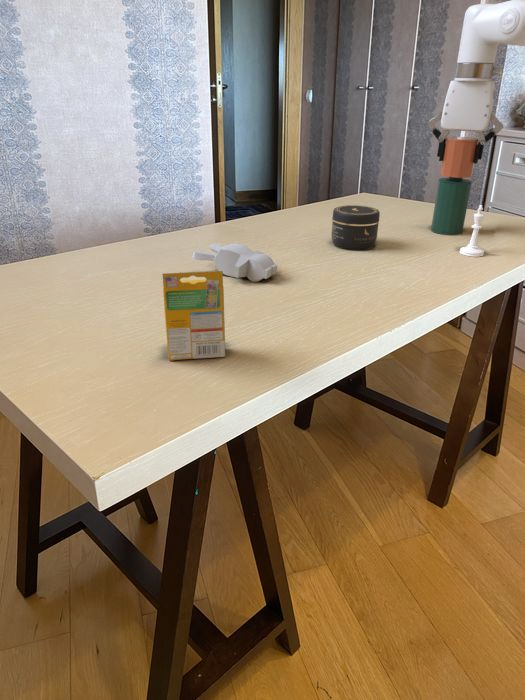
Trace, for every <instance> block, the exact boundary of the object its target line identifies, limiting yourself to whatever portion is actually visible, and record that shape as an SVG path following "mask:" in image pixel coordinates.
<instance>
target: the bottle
mask: <svg viewBox="0 0 525 700" xmlns="http://www.w3.org/2000/svg"><path fill="white" fill-rule="evenodd" d="M472 183H473V180H471V179H470V178H454V177H440V178H438V182H437V189H436V194H435V195H436V197H435V202H434V209H433V212H432V213H433V214H432V220H431V226H430V227H431V228H430V231H431V232H433V233H434V234H438V235H443V236H458V235H459V236H460V235H462V234H463V231H464V227H465V220H466V215H467V210H468V204H469V199H470V194H471V188H472V185H473V184H472Z"/></svg>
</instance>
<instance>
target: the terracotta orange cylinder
mask: <svg viewBox="0 0 525 700" xmlns="http://www.w3.org/2000/svg"><path fill="white" fill-rule="evenodd" d="M478 142H479V139H478V137H471V136H447V137H446V142H445V149H444V155H443V161H441V167H440V176H443V177H445V178H447V177H454V178H464V179H469V178H472V176H473V171H474V166H475V164H474V163H473V162H474V157H475V151H476V146H477V144H478Z"/></svg>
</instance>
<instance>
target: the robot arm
mask: <svg viewBox="0 0 525 700" xmlns="http://www.w3.org/2000/svg"><path fill="white" fill-rule="evenodd" d="M499 44H501V45H508V46H519V47H525V0H507V1H503V2H498V3H478V4H473V5H470V6H468V7H467V9H466V11H465V14H464V17H463V23H462V29H461V36H460V42H459V48H458V55H457V61H456V66H455V73H454V78H453V79H454V80H450V82H449V85H448V89H447V91H446V96H445V100H444V104H443V107H442V108H443V109H442V111H440V112H439V113H438V114H436V115H435V116H434V117H433V118H431V119H430V120H429V121H427V126H428V128H429V129H430V131H431V133H432V135H433V136H434V137H435V139H436V140H437V141H438V147H437V154H436V157H438V158H439V159H438V162H442V161H443V155H444V149H445V142H446V138H447V137H448V136H449V134H450V132H451V131H456V132H458V131H459V132H476V134H477V135H476V136H477V139H478V144H477V146H476V151H475V157H474V162H473V163H474V165H477V164H478V162H479V161H480V160H482V159H483V152H484V147H485V144H487V143H488V142H489V141H490V140H491V139H493V138H494V137H495V136H496V135H497V134H498V133H499V132H500V131H501V130H503V129H504V127H505V126H504V123H502V122H501V121H500V120H499V118H498V117H497V116H496V115H495V114H494V113H493V108H494V103H495V102H494V101H495V94H496V93H495V92H496V81H494V80H492V79H493V77H494V76H500V74H501V70H502V67H498V66H496V65H495V63H496V58H497V52H498V47H499ZM438 122H440V128H441V129H443V131H442V132H441V130H440V129H439V128H438V127H437V123H438ZM491 124H492V125H493V126H494V128H493V129H492V130H490V131H489V132H488V133H487V134H486V133H485V131H486V130H487V129H488V128H490V125H491Z"/></svg>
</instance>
